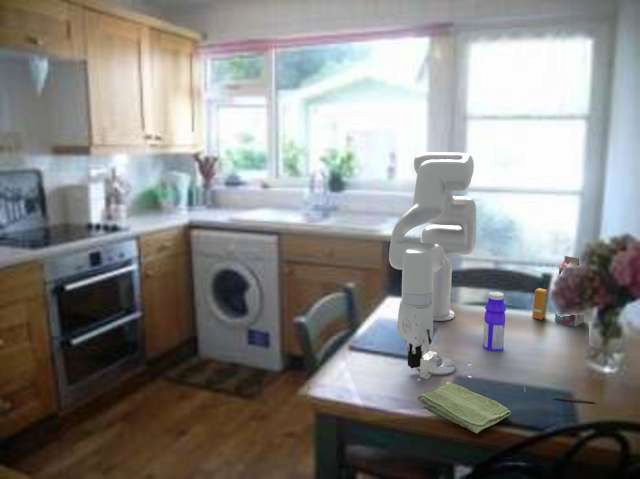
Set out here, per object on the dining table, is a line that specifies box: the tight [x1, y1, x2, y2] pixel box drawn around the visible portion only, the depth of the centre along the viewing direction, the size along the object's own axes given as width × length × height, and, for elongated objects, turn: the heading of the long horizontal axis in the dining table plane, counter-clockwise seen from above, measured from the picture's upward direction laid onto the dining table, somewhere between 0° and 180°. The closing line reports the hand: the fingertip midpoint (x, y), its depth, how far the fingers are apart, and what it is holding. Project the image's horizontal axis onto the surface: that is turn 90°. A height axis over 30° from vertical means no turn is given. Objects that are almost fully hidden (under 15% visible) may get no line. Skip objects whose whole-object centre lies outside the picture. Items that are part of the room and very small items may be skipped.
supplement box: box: [531, 287, 549, 321], centre depth 182 cm, size 3×3×10 cm
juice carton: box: [554, 255, 585, 327], centre depth 177 cm, size 7×7×22 cm
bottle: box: [482, 291, 507, 353], centre depth 153 cm, size 7×6×17 cm
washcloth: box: [417, 382, 512, 434], centre depth 122 cm, size 13×18×3 cm
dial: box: [416, 350, 456, 380], centre depth 139 cm, size 13×10×5 cm
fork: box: [523, 386, 597, 404], centre depth 127 cm, size 3×16×2 cm, turn 75°
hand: (414, 366), depth 138 cm, fingers closed
